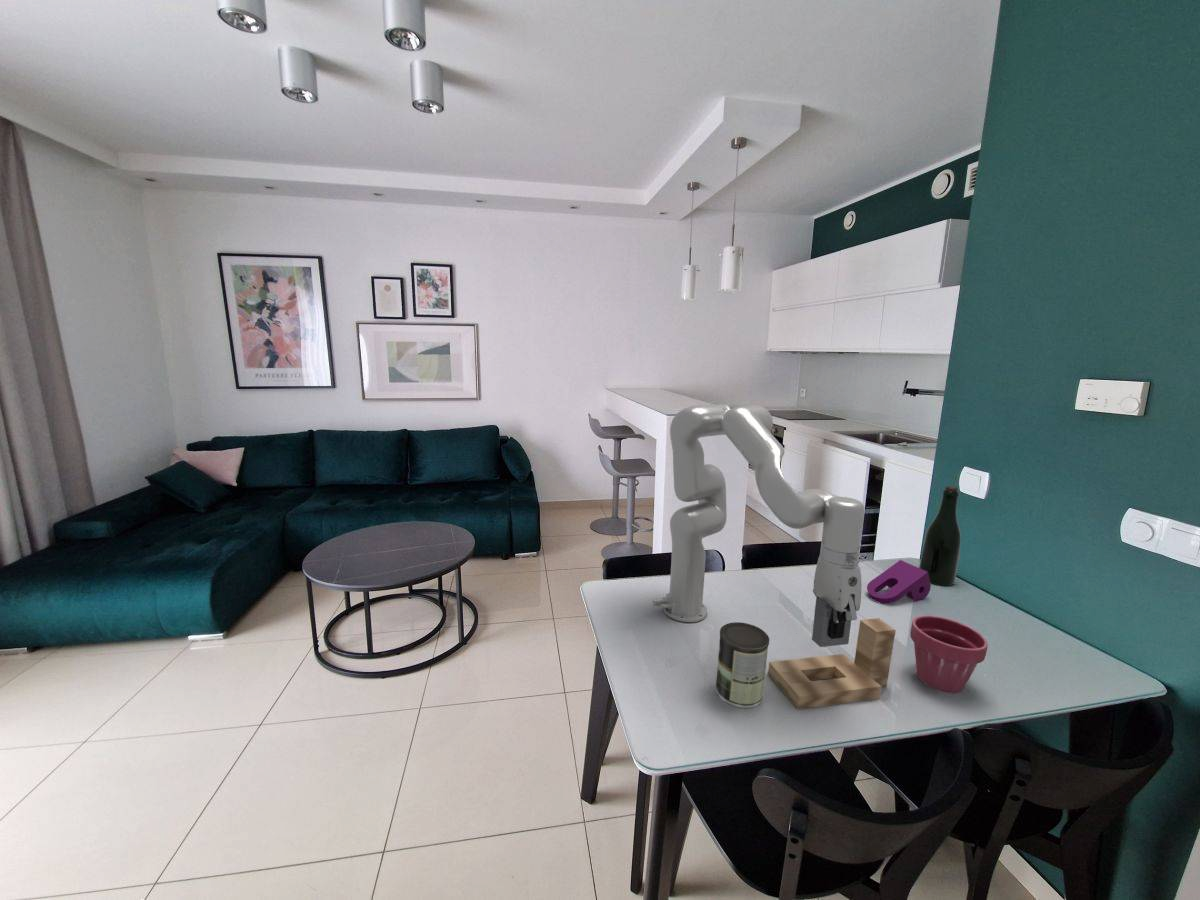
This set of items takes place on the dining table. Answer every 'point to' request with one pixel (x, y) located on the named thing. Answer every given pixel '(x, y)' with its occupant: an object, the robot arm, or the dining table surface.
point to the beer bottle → (943, 542)
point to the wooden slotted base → (839, 671)
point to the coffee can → (741, 664)
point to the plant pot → (946, 652)
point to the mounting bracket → (900, 583)
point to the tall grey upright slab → (827, 625)
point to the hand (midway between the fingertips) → (830, 632)
